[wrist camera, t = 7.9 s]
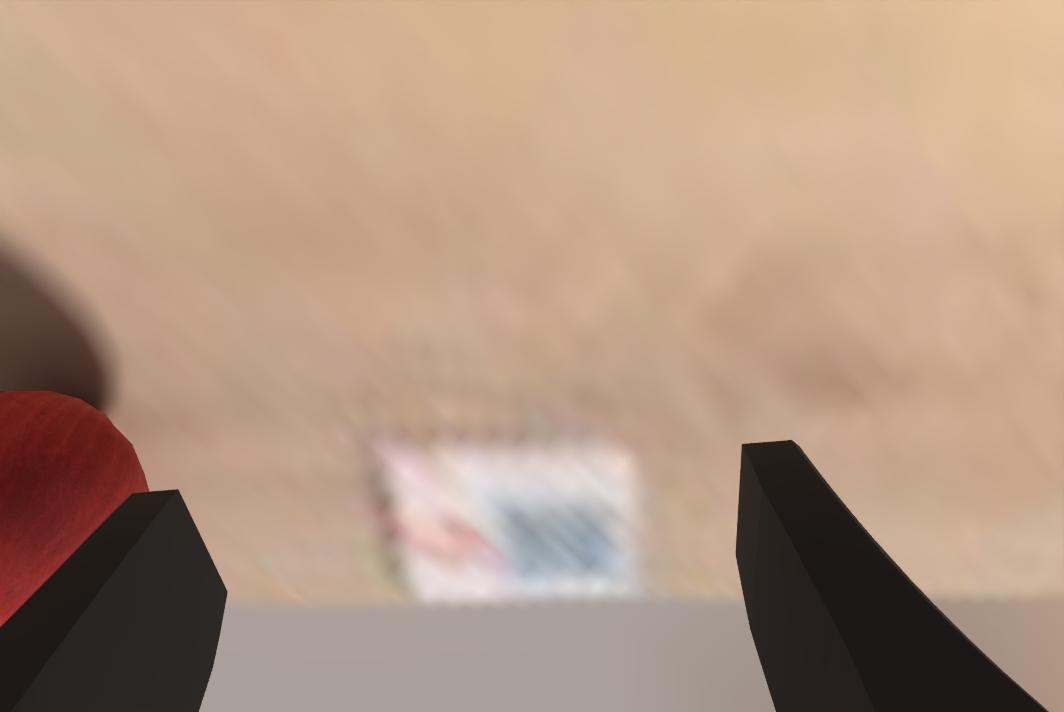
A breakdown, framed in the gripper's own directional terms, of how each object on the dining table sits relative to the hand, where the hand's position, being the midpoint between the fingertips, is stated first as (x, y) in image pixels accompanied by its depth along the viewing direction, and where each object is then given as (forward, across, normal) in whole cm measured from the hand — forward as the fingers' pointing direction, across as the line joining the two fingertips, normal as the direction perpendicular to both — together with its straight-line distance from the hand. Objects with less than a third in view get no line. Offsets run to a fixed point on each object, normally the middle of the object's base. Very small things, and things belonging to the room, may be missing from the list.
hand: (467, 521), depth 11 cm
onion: (+11, +12, +6) cm, 17 cm away
